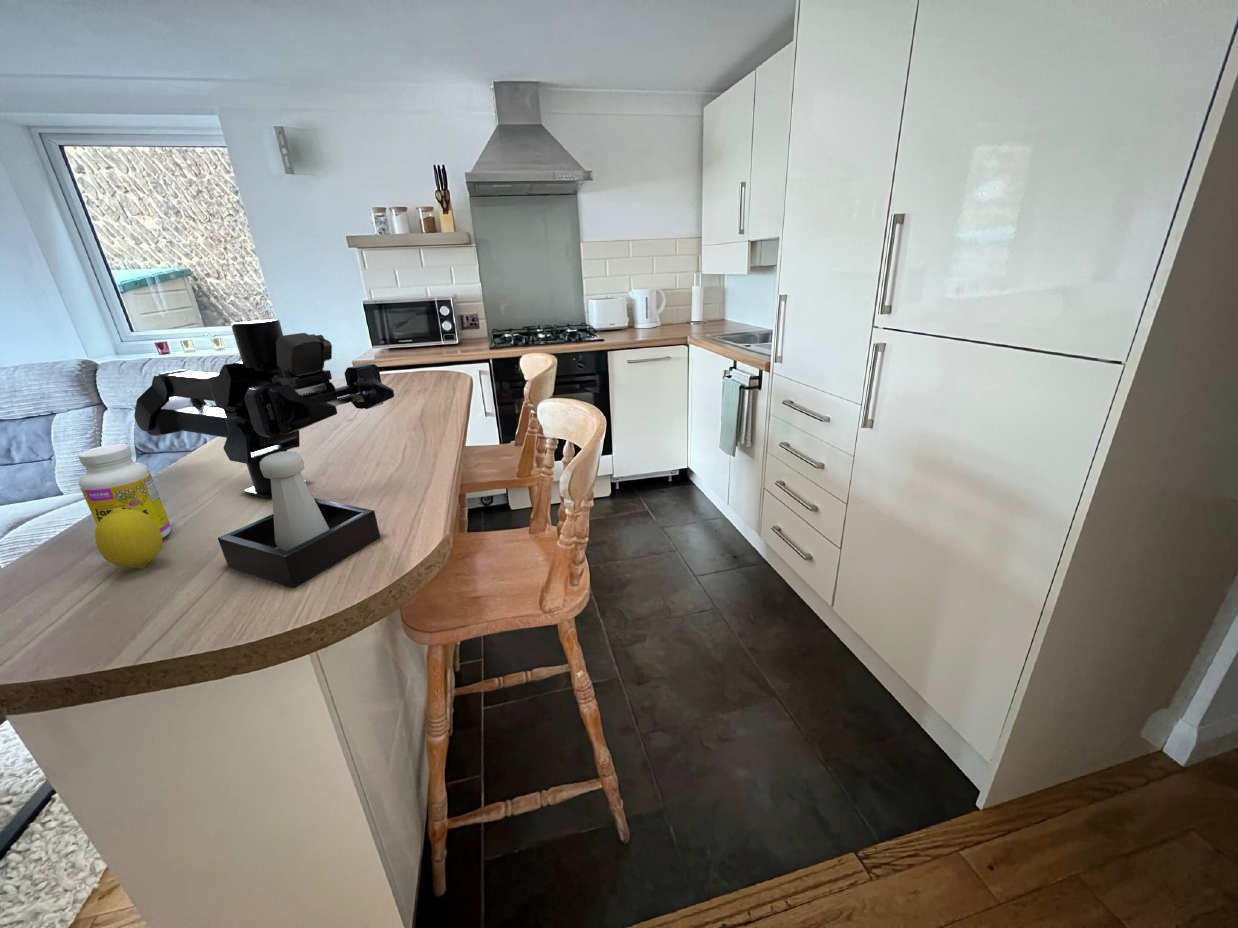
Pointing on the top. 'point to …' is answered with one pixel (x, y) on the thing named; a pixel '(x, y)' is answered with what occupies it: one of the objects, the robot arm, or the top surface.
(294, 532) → the salt shaker
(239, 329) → the robot arm
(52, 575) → the top surface
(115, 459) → the supplement bottle
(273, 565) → the black rectangular open frame
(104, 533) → the lemon
